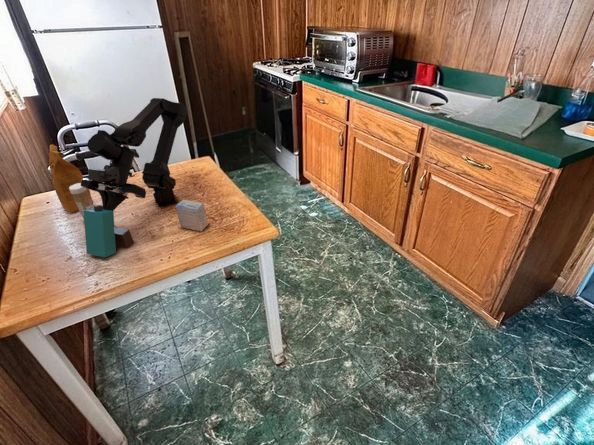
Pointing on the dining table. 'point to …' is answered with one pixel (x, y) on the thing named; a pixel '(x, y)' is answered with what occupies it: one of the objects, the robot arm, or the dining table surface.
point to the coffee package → (64, 179)
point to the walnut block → (123, 237)
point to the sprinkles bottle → (81, 197)
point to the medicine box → (192, 215)
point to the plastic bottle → (99, 231)
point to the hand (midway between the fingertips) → (105, 215)
